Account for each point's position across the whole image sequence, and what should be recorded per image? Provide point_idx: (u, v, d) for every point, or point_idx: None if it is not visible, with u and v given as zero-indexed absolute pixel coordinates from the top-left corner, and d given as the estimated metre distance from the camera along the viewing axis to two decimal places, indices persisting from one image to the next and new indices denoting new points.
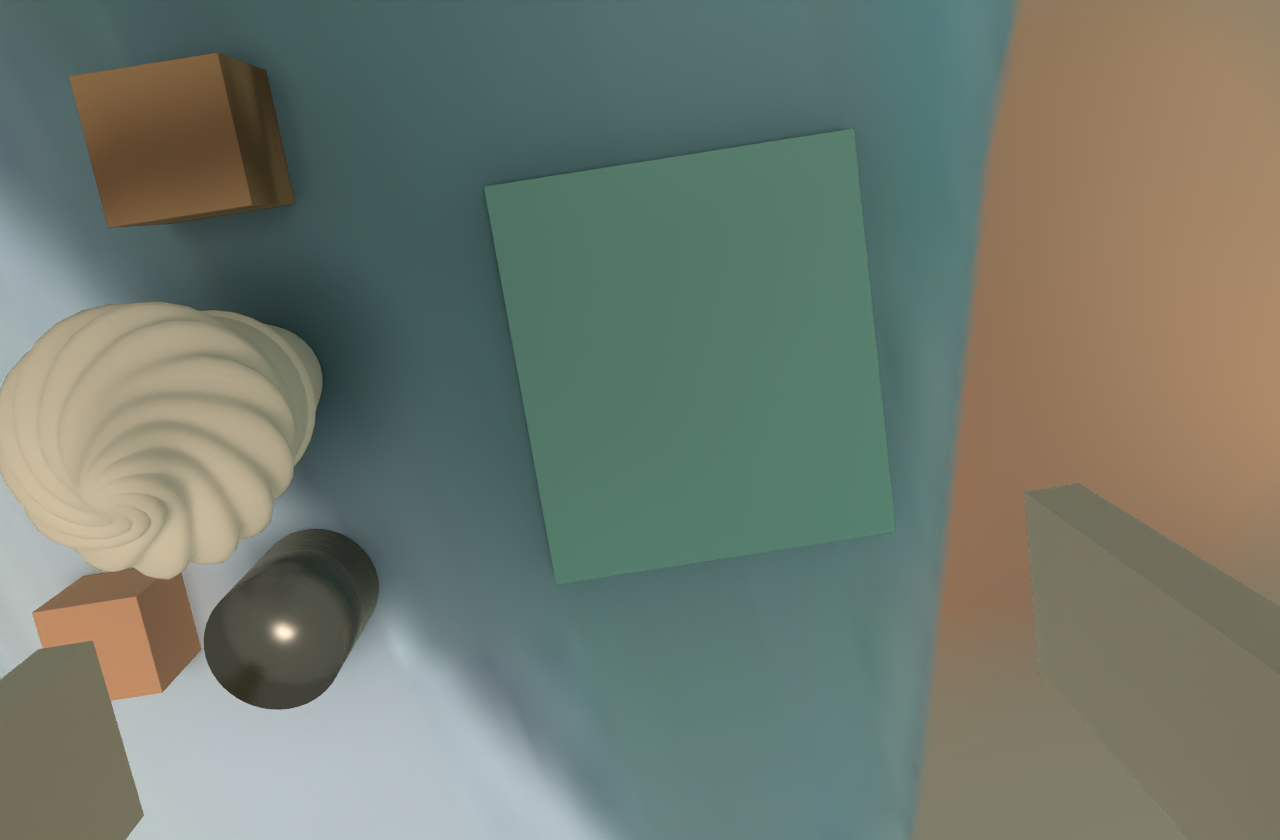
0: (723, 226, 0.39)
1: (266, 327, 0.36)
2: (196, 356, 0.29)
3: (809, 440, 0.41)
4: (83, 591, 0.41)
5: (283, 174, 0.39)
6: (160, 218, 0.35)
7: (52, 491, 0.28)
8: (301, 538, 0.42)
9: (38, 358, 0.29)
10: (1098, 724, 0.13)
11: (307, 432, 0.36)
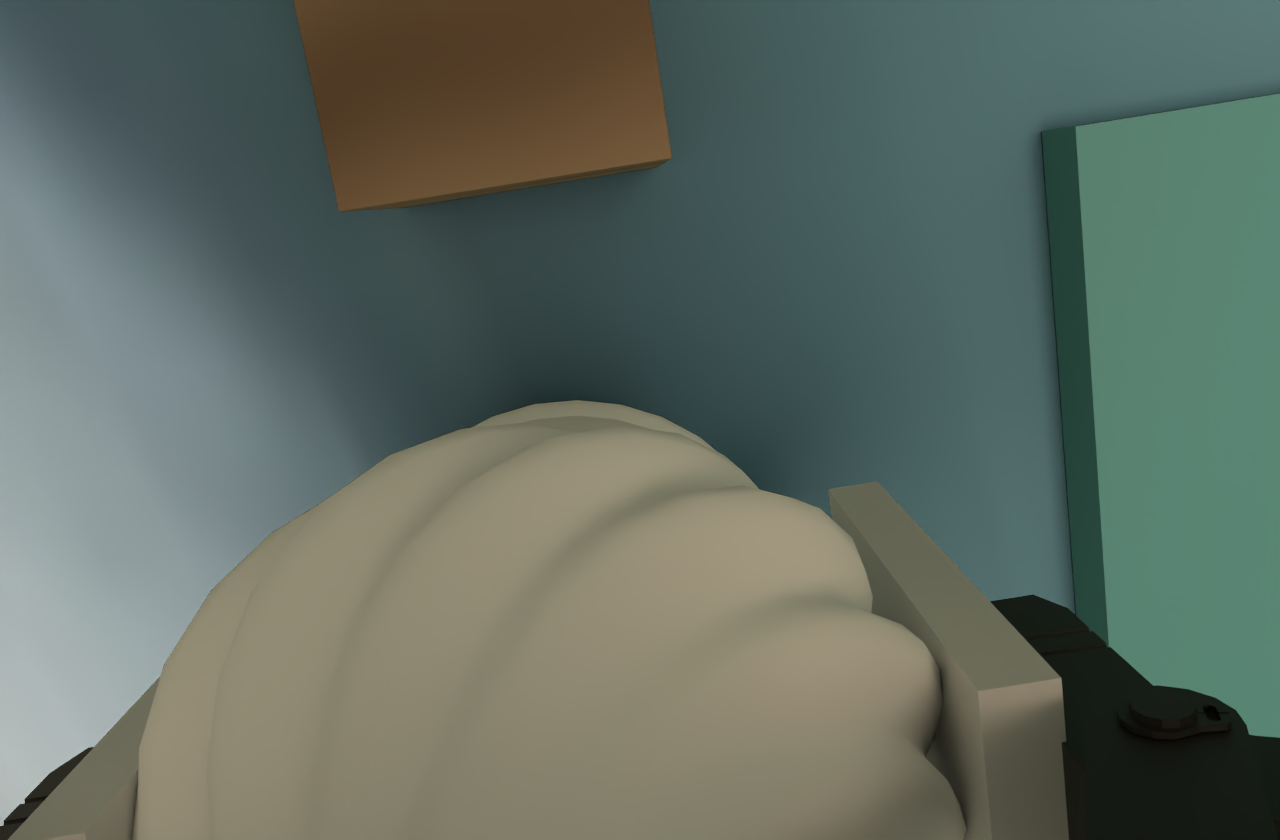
0: None
1: (698, 439, 0.16)
2: (790, 617, 0.09)
3: None
4: None
5: None
6: (459, 189, 0.15)
7: None
8: None
9: (283, 631, 0.09)
10: None
11: None
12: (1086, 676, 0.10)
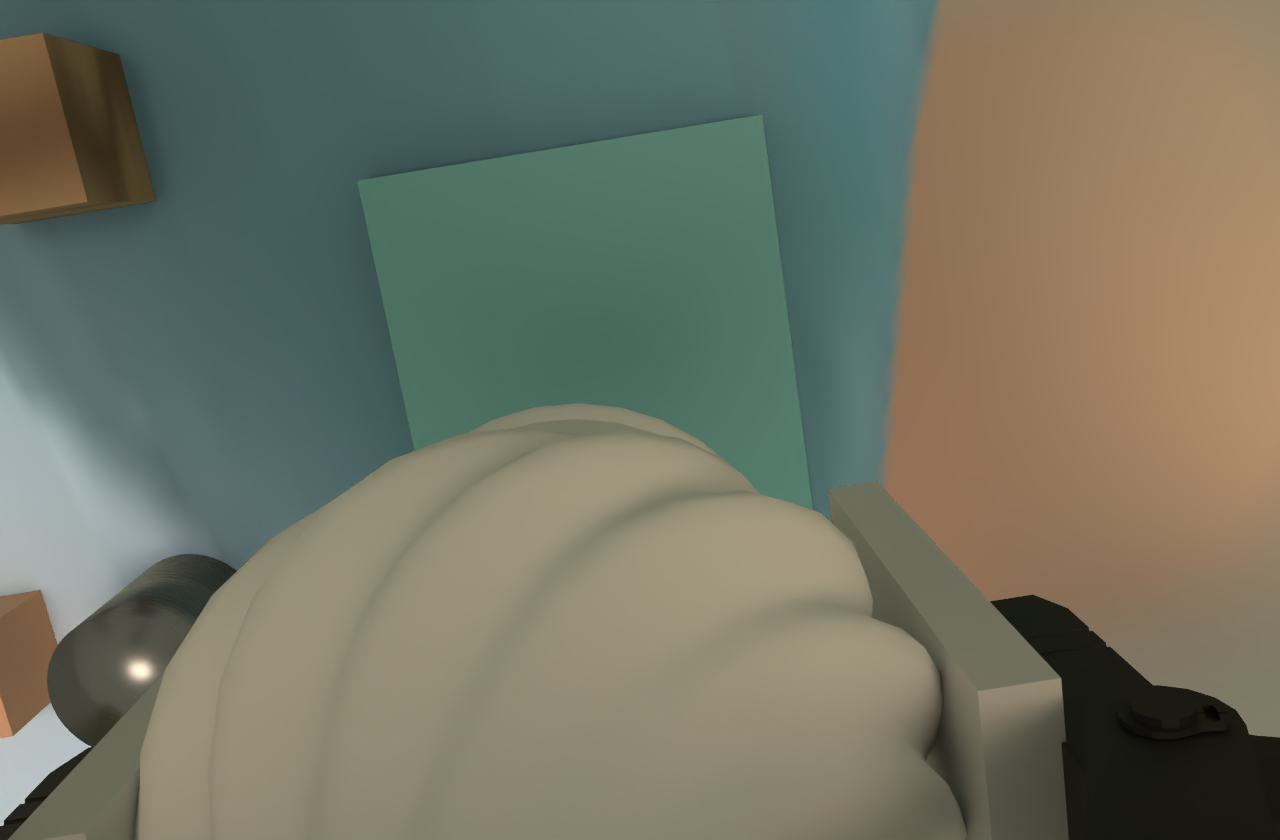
0: (621, 222, 0.36)
1: (699, 442, 0.16)
2: (790, 622, 0.09)
3: (722, 455, 0.38)
4: None
5: (139, 168, 0.36)
6: None
7: None
8: (170, 565, 0.38)
9: (284, 636, 0.09)
10: None
11: None
12: (1086, 676, 0.10)
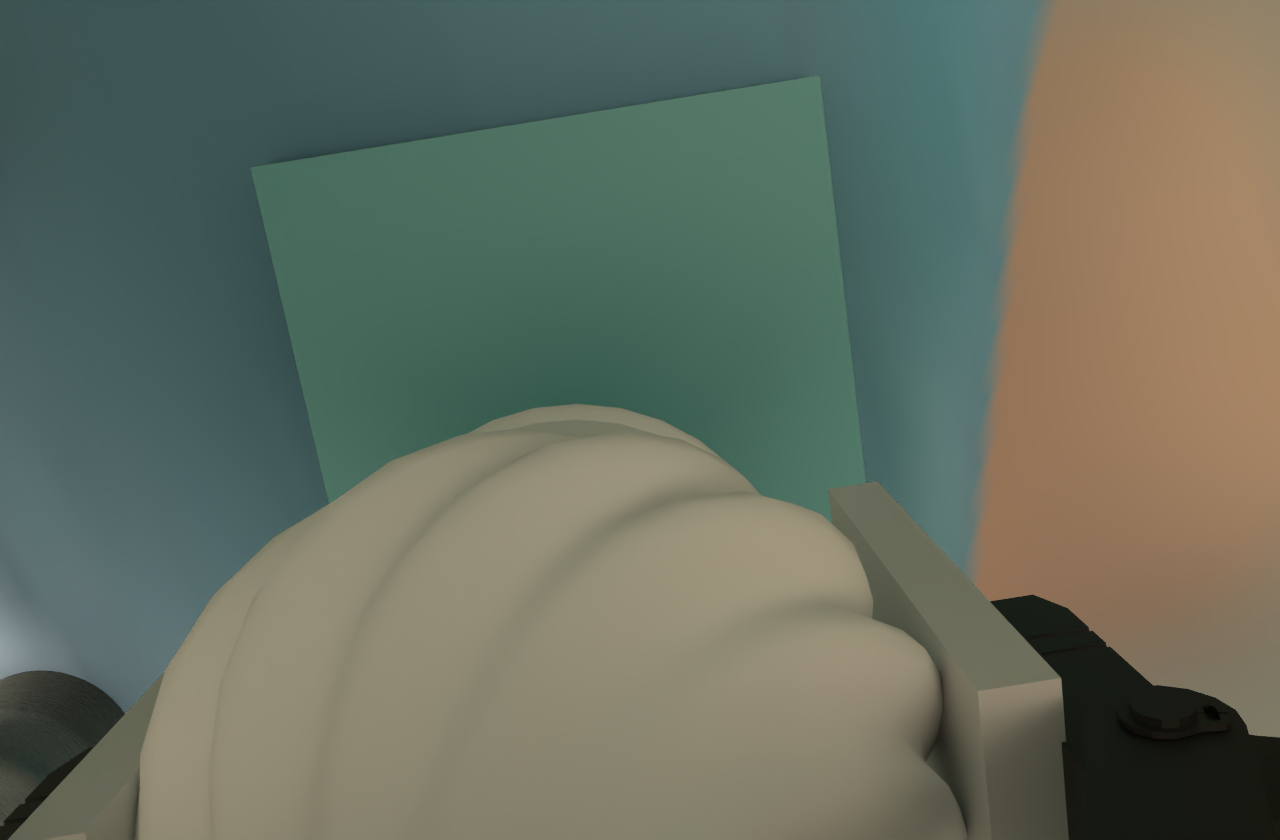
0: (621, 227, 0.26)
1: (699, 443, 0.16)
2: (790, 623, 0.09)
3: None
4: None
5: None
6: None
7: None
8: (8, 690, 0.28)
9: (284, 637, 0.09)
10: None
11: None
12: (1086, 676, 0.10)
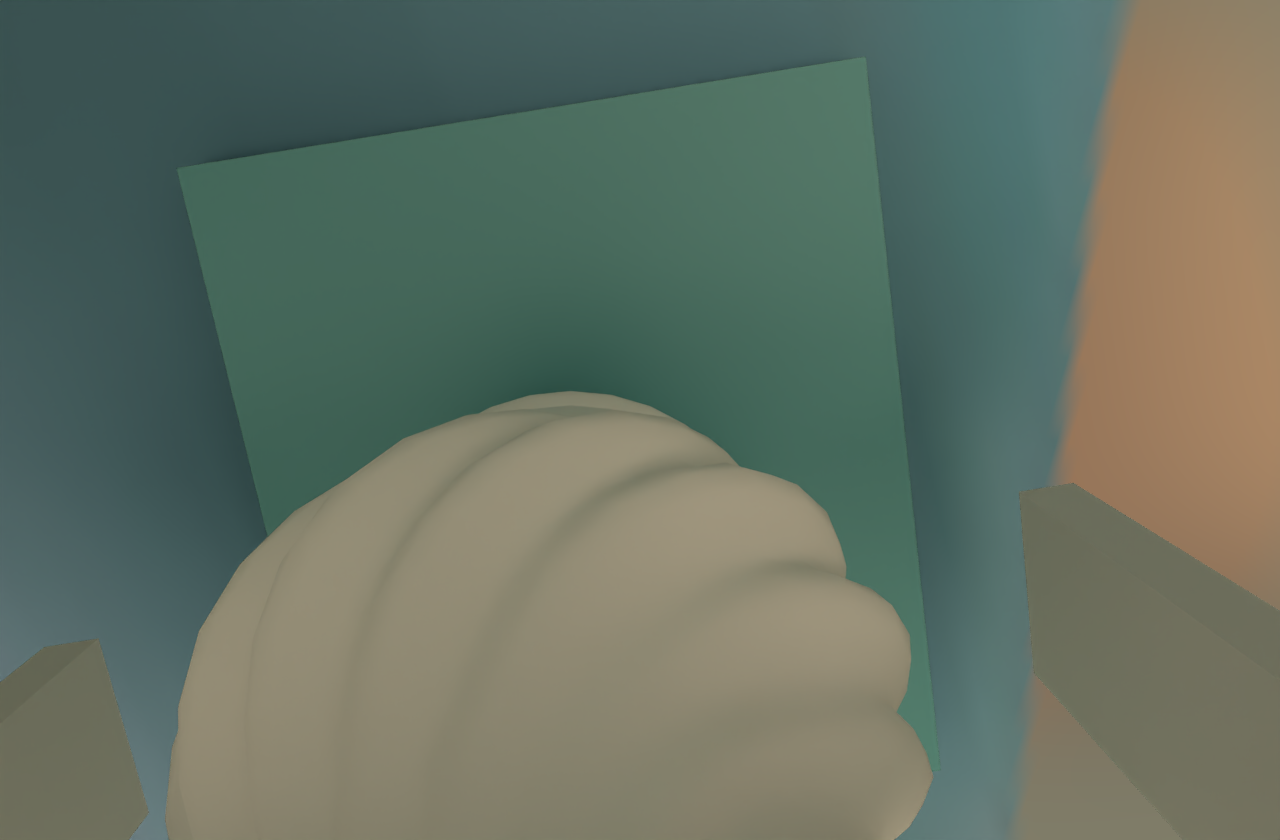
0: (625, 240, 0.21)
1: None
2: (769, 580, 0.10)
3: None
4: None
5: None
6: None
7: None
8: None
9: (311, 597, 0.10)
10: (1092, 723, 0.13)
11: None
12: None
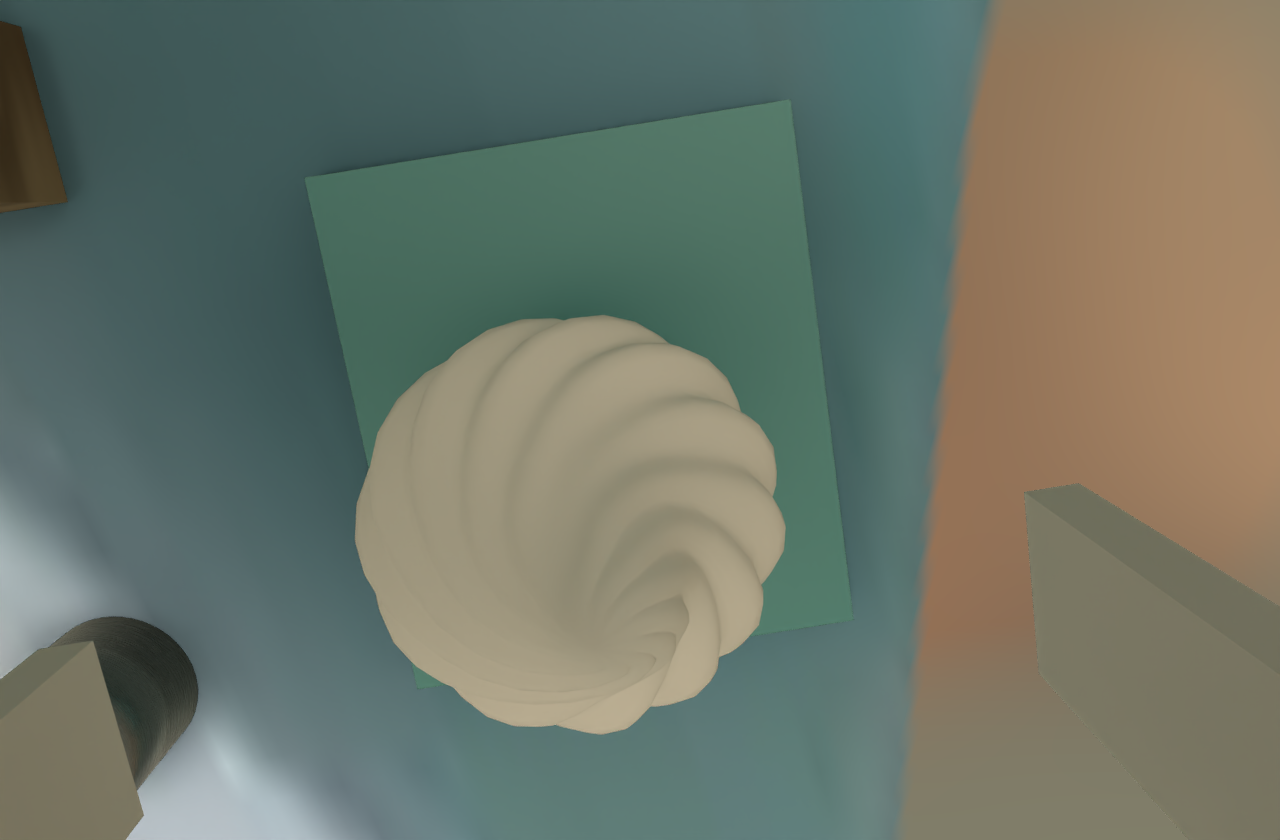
0: (621, 229, 0.30)
1: None
2: (685, 400, 0.19)
3: None
4: None
5: (45, 162, 0.30)
6: None
7: (488, 621, 0.17)
8: (88, 632, 0.33)
9: (443, 406, 0.18)
10: (1098, 724, 0.13)
11: None
12: None
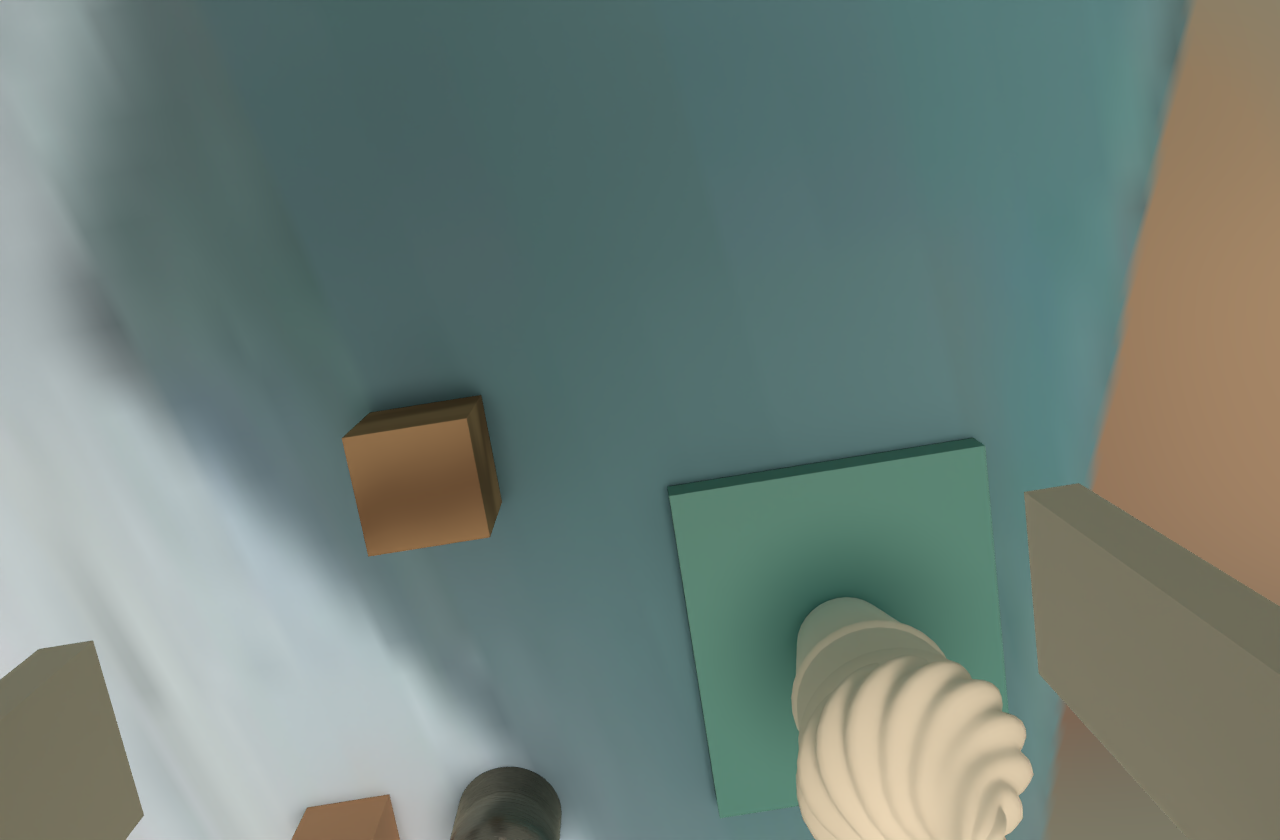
0: (872, 525, 0.46)
1: (923, 634, 0.41)
2: (990, 717, 0.35)
3: None
4: (317, 831, 0.48)
5: (495, 482, 0.46)
6: (412, 548, 0.42)
7: None
8: (501, 780, 0.49)
9: (862, 722, 0.34)
10: (1098, 724, 0.13)
11: None
12: None
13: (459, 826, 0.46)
